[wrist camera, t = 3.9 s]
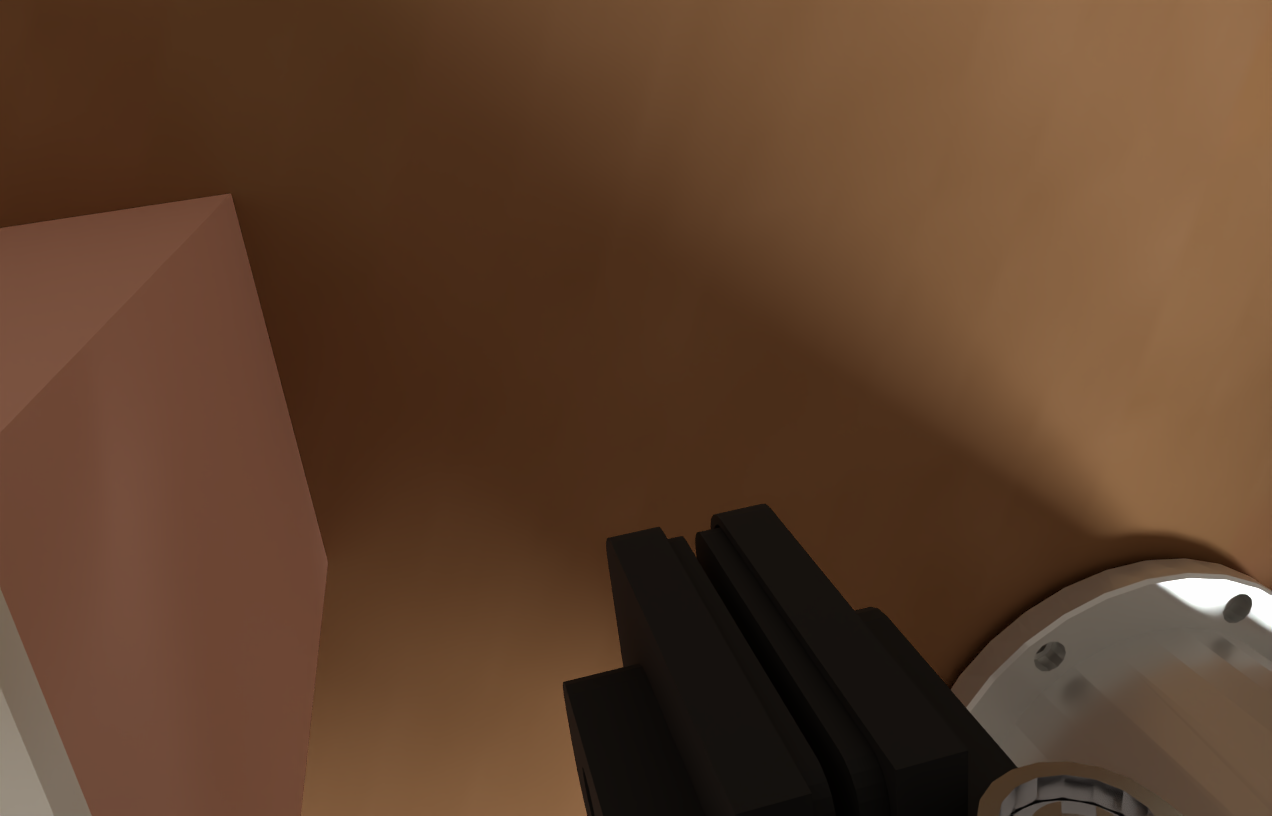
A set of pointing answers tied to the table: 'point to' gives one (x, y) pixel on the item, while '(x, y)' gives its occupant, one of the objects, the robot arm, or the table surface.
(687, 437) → the table surface
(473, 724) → the table surface
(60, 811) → the pink rectangular block
